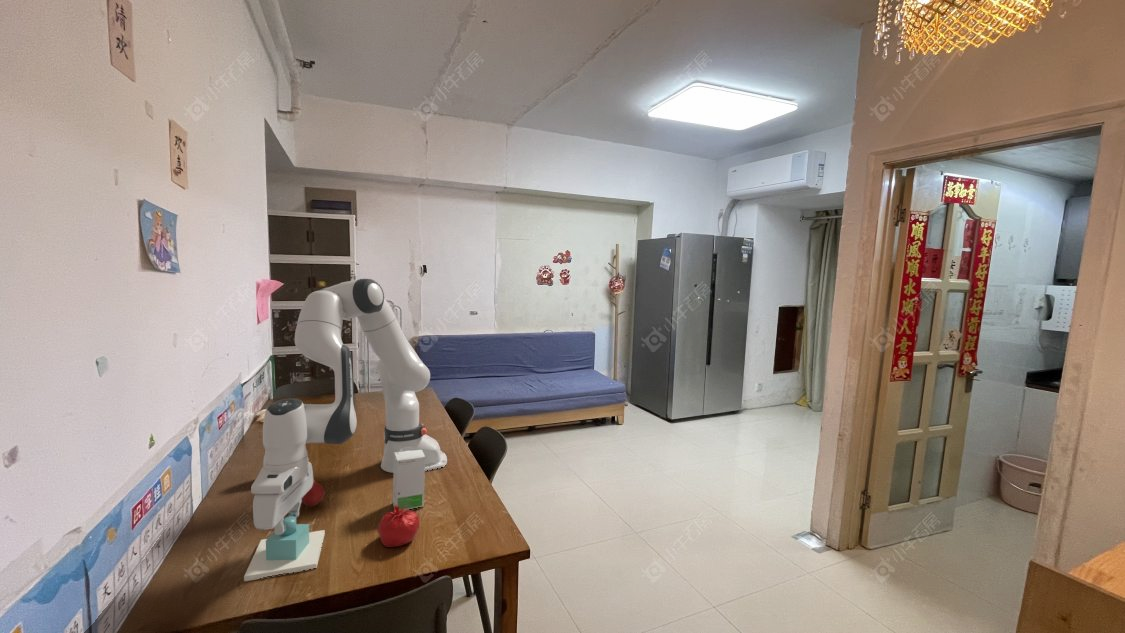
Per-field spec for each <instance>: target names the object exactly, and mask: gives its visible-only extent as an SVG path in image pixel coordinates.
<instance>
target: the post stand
mask: <svg viewBox="0 0 1125 633" xmlns="http://www.w3.org/2000/svg"><path fill="white" fill-rule="evenodd" d="M325 531H326V530H325V529H323V530H315V531H309V544H308V545H307V546H306V547H305V549H304V550H303V551H302V553H301V554H300V555H299V557H298V558H297V559H296V560H266V540H267V539H268V538H264V539H260V541H259V543H258V546H257V547H256V550H255V552H254V553H253V554H254V555H253V557H252V559H251V560H250V562H249V565H248V568H247V569H246V571H245V574H244V576H243V579H244V580H243V581H244V582H250V581H255V580H261V579H264V578H263V577H267V576H272V575H278V574H283V573H289V574H293V572H294V573H298V572H299V573H300V572H304V571H303V570H305V571H310V570H309V569H311V570H314V569H313V568H316V569H317V567H318V563H319V559H320V556H321V552H322V548H323V544H324V543H323V542H324V538H325V535H326V532H325ZM322 543H323V544H322ZM321 547H322V548H321ZM283 575H284V574H283ZM278 576H279V575H278ZM272 577H273V576H272ZM260 578H261V579H260ZM267 578H268V577H267Z"/></svg>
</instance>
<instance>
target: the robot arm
mask: <svg viewBox="0 0 1125 633" xmlns="http://www.w3.org/2000/svg"><path fill="white" fill-rule="evenodd" d="M355 318H357V321H358V323H359V326H360V328H361V329H362V331H363V334H364V335H365V337H366V338H365V339H367V342H368V344H369V346H370V348H371V349H372V351H373V353H374V354H375V355H376V356H377V357H378V358H379V361H378V362H377V365H376V371H377V375H378V376H379V378H380V384H381V388H382V393H383V398H384V402H385V426H384V430H383V441H384V450H383V457H382V460H381V463H380V468H381V469H382V470H383V471H384V472H388V473H393V474H394V453H395V452H404V451H413V450H422V451H423V453H424V455H425V472H428V471H432V469H433V470H437V468H438V469H442V468H441V467H443V468H444V467H445V465H447V463H448V457H447V455H446V453H445V452H443V451H442V450H441V447H440V444H439V442H438V441H437V440H436V439H435V438H433V437H431V436H429V435H427V434H428V430H427V428H426V427H425V425H424V423H420V402H419V400H418V398H417V395H416V393H417V392H418V393H419V392H420V391H423V390H424V389H425V388H426V387H428V385H429V383H430V380H431V371H430V369H429V368H428V367H427V366H426V365H425V363H424V362H423V360H422V359H421V358H420V356H419V355H418V354H417V352H416V350H415V349H414V347H412V344H410V342H409V340H408V339H407V338H406V336H405V334H404V332H403V329H402V328H401V325H400V323H399V321H398V319H397V317H396V314H395V313H394V311H393V309H392V307H391V305H390V304H389V302H388V300H386V298H385V292H384V290H383V287H382V286H381V285H380V284H379V283H378V282H377V281H375V280H374V279H371V278H359V279H355V280H349V281H344V282H343V281H342V282H340V283H337V284H334V285H331V286H327V287H324V288H321V289H319V290H316V291H313V292H311V293H309V294H308V295H307V297H306V298H305V301H304V302H303V305H302V307H301V309H300V312H299V315H298V318H297V322H296V324H297V325H296V326H295V332H294V345H295V348H296V349H297V350H298V352H299V353H300V354H301V355H302V356H304V357H305V358H307V359H309V360H311V361H313V362H314V363H315V362H316V363H317V364H318V363H319V364H321V365H324V366H326V367H329V368H330V369H331V370H333V372H334V398H335V400H334V402H332V403H326V404H325V403H324V404H323V403H321V404H320V403H319V404H311V403H303V401H302V399H301V400H300V399H298V398H282V399H279V400H276V401H274V402H272V403H270V404H268V406H267V407H266V408H265V411H264V416H263V417H264V418H263V425H262V445H263V447H264V456H263V462H262V463H263V466H262V468H261V469H260V471H259V473H258V475H257V477H256V478H255V480H254V482H253V483H252V484H251V487H250V492H251V494H254V496H253V501H252V517H253V525H254V527H255V528H256V529H257V530H274V531H275V534H276V535H281V534H283V533H284V531H285V530H286V524H283V520H284V518H285V517H286V516H287V514H288V517H289V516H294V517H296V519H297V518H298V517H299V516H300V509H301V506H302V505H301V504H302V497H303V496H304V495H305V494H306V493H307V492H308V491H309V490H310V489H311V488H312V486H313V480H314V472H313V465H312V463H311V462H310V461H309V457H308V449H307V446H306V444H327V445H328V444H331V445H342V444H344V443H345V442H347V441H349V440H350V438H352V437H353V436H354V435H355V433H356V431H357V430H356V429H357V424H358V421H357V420H358V419H357V415H356V405H355V388H354V387H355V386H354V383H355V382H354V368H353V357H352V352H351V350H350V347H349V346H347V345H345V344H344V343H343V340H342V331H343V320H351V319H355ZM427 470H428V471H427Z"/></svg>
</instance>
